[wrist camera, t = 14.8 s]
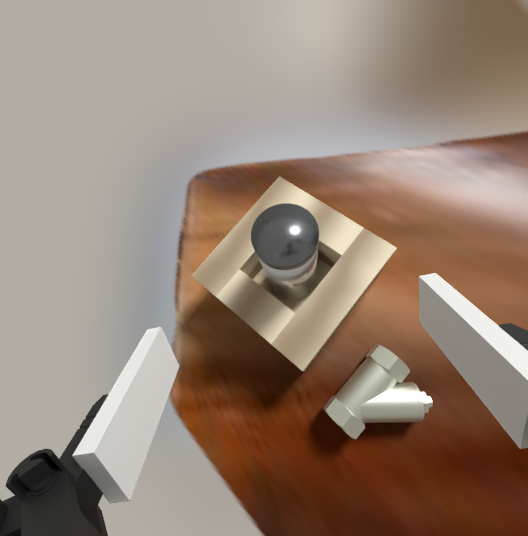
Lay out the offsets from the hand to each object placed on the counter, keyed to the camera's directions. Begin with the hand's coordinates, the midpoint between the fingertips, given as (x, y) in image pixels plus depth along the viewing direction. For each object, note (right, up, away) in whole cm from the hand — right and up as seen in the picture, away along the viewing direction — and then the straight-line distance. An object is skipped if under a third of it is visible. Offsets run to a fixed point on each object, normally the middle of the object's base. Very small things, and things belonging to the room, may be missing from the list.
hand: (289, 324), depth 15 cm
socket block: (+2, +2, +19) cm, 19 cm away
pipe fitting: (+10, -10, +14) cm, 20 cm away
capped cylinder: (+2, +2, +18) cm, 18 cm away
